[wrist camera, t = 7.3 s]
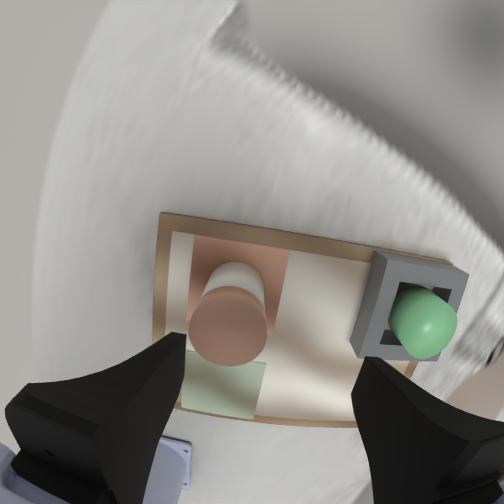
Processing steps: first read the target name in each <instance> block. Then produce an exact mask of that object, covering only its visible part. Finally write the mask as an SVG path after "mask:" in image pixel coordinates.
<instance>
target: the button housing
mask: <svg viewBox="0 0 504 504" xmlns="http://www.w3.org/2000/svg"><path fill="white" fill-rule="evenodd" d="M371 263H372V265H371V269H370V273H369V276H368V280H367V284H366V288H365V291H364V295H363V298H362V302H361V305H360V309H359V312H358V315H357V319H356V322H355V325H354V328H353V332H352V335H351V338H350V341H349V342H350V344H351V346H352V348H353V350H354V352H355V354H356V356H357V358H358V359H364V358H365V356H372V357H379V358H381V359H383V360H396V361H437V360H438V358H439V356H440V354H441V352H440V353H438V354H437V355H435V356H433V357H430V358H427V359H417V358H414V357H412V356H411V355H410V354H409V353H408V351H407V350H406V349H405V347H404V346H403V345H402V343H401V342H400V341H399V339H398V338H397V337H396V336H395V334H394V333H393V332H392V330H385V327H386V324H387V321H388V318H389V315H390V312H391V309H392V306H393V302H394V299H395V296H396V293H397V289H398V286H399V282H400V281H401V282H407V283H414V284H420V285H427V286H434V288H433V291H432V292H433V293H434V294H436V295H437V296H438V297H440V298H441V299H442V300H443V301H445V302H446V303H447V304H449V305H450V306H451V307H452V308H453V309H454V311H455V313H456V314H457V311H458V308H459V305H460V302H461V299H462V296H463V293H464V290H465V287H466V284H467V280H468V277H469V274H468V273H466V272H464V271H462V270H460V269H459V268H457V267H455V266H453V265H451V264H446V263H441V262H436V261H430V260H425V259H420V258H415V257H410V256H405V255H399V254H394V253H389V252H383V251H378V250H374V254H373V258H372V262H371Z"/></svg>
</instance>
